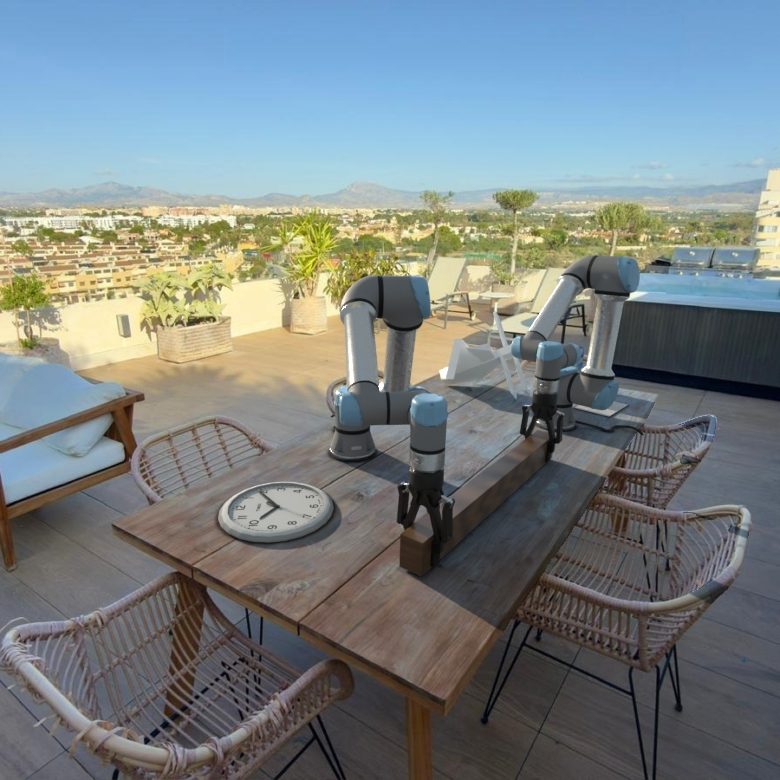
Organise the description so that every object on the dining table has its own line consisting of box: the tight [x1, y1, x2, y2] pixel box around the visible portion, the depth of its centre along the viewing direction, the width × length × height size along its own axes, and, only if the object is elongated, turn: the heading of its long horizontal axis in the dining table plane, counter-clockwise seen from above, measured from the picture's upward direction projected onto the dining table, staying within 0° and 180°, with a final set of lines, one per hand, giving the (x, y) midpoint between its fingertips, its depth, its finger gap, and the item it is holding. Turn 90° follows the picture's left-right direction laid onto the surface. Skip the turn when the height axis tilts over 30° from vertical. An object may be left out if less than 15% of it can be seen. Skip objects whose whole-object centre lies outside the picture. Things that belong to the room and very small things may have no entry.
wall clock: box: [217, 481, 335, 544], centre depth 139 cm, size 30×2×30 cm
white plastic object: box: [438, 310, 531, 400], centre depth 245 cm, size 37×45×31 cm
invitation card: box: [573, 401, 629, 418], centre depth 226 cm, size 21×1×15 cm
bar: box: [399, 429, 554, 577], centre depth 144 cm, size 78×6×8 cm, turn 143°
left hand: (422, 558), depth 119 cm, fingers closed on bar, 6 cm apart
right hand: (538, 458), depth 171 cm, fingers closed on bar, 6 cm apart
